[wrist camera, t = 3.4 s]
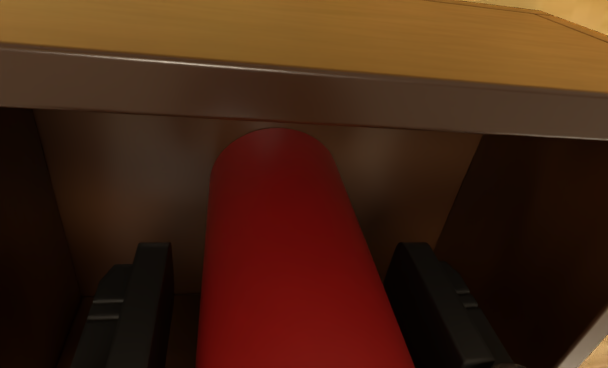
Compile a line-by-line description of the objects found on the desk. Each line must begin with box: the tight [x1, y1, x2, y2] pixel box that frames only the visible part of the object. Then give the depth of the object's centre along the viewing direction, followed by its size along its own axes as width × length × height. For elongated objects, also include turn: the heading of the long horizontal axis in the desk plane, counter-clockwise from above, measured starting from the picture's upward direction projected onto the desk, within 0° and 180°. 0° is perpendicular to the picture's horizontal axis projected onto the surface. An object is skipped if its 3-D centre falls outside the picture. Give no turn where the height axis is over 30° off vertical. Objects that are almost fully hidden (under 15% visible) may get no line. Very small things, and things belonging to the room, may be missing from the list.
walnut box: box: [0, 0, 608, 368], centre depth 12 cm, size 13×16×7 cm
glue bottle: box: [195, 128, 415, 368], centre depth 9 cm, size 4×4×12 cm
